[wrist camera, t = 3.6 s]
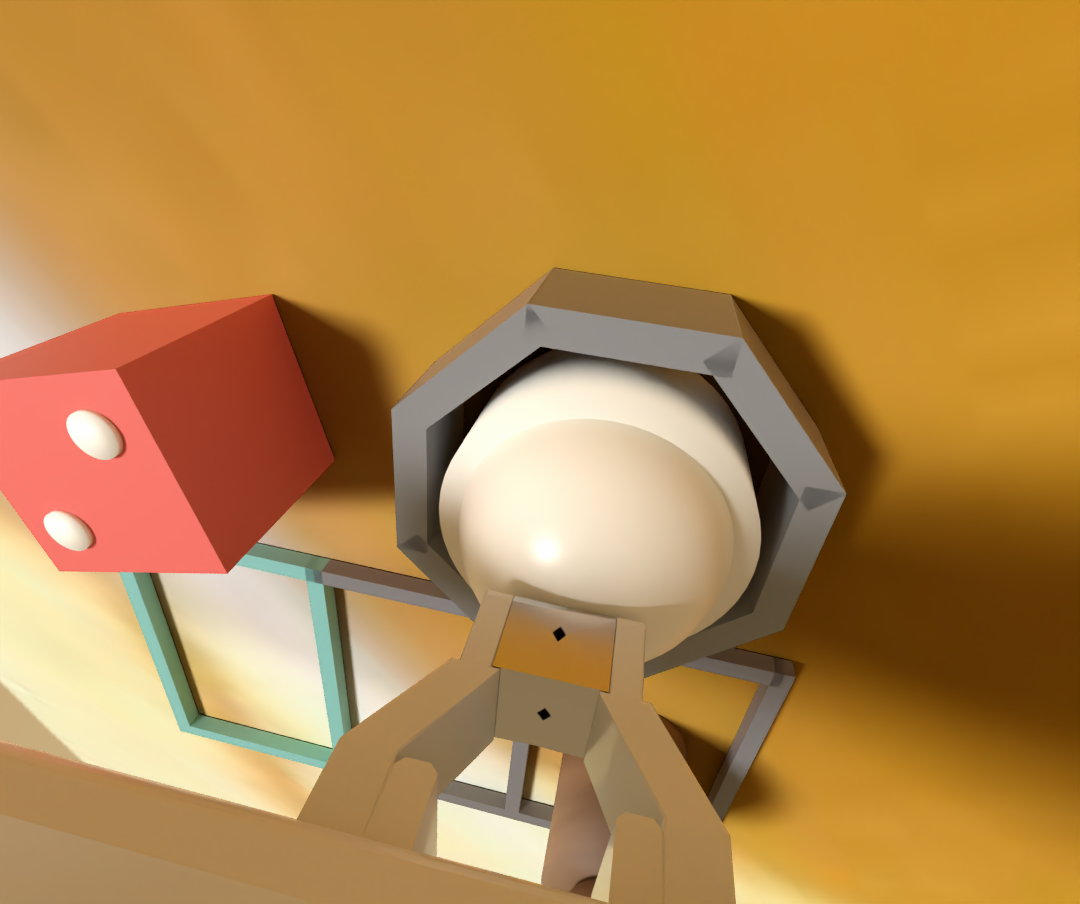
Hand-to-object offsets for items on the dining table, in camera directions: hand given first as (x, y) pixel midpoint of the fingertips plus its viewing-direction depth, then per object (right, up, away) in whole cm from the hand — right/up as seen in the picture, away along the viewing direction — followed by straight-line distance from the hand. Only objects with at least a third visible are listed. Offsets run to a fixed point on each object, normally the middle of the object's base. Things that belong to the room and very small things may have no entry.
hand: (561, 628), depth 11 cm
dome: (+1, +3, +5) cm, 6 cm away
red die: (-9, +5, +6) cm, 12 cm away
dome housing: (+1, +3, +5) cm, 6 cm away
